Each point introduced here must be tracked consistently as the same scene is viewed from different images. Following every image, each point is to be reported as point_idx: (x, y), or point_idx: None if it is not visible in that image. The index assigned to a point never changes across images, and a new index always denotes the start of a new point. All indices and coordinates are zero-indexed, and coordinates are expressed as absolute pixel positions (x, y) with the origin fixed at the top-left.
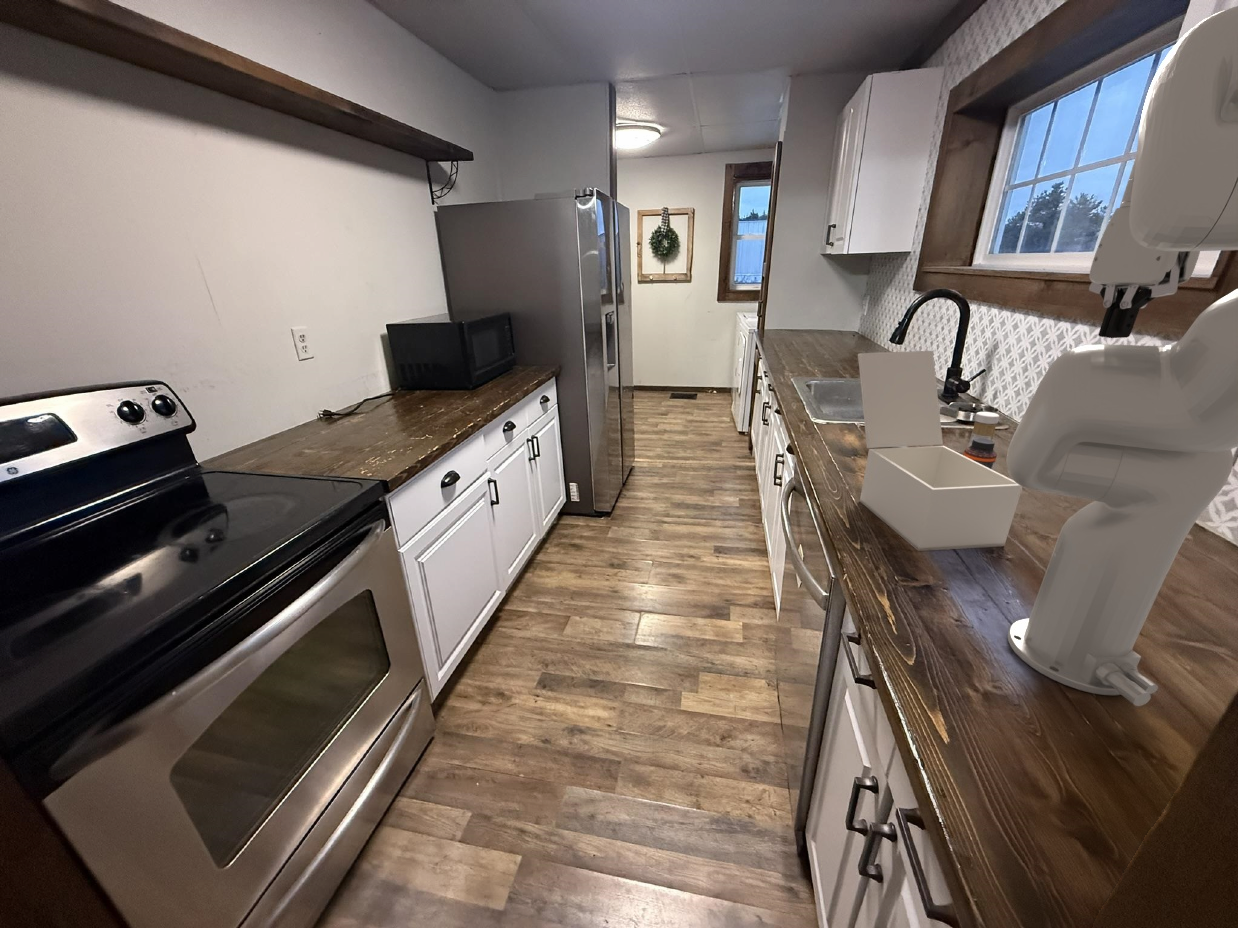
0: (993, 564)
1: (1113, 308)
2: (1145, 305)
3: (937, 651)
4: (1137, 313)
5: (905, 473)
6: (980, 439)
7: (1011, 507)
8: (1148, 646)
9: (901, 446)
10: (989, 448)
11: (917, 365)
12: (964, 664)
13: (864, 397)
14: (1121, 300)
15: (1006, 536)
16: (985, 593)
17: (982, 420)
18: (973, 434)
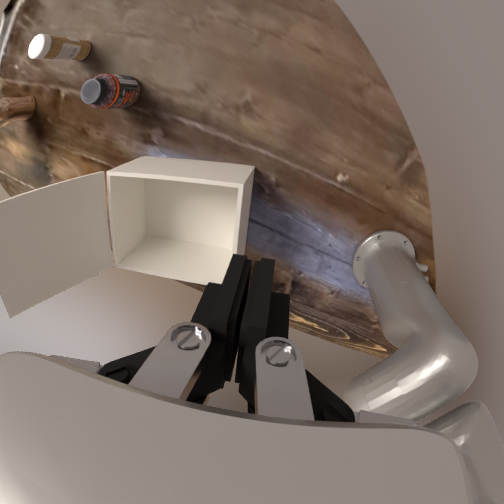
0: (281, 206)
1: (222, 380)
2: (298, 354)
3: (348, 321)
4: (287, 337)
5: (185, 280)
6: (86, 94)
7: (247, 182)
8: (397, 198)
9: (34, 106)
10: (105, 90)
11: (1, 231)
12: (361, 316)
13: (59, 291)
14: (201, 378)
15: (253, 169)
16: (315, 250)
17: (43, 55)
18: (53, 58)
